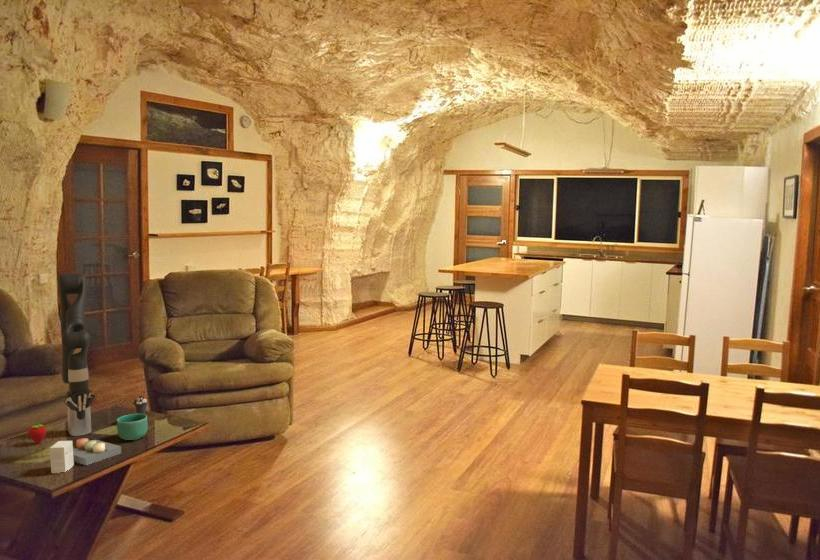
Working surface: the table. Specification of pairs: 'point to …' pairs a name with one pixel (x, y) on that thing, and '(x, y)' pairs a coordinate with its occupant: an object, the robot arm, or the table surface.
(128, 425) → the mug
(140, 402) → the sundae
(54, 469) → the small box
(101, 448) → the button cream
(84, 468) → the table surface
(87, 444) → the button sage
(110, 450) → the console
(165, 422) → the table surface
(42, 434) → the strawberry
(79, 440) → the button terracotta
